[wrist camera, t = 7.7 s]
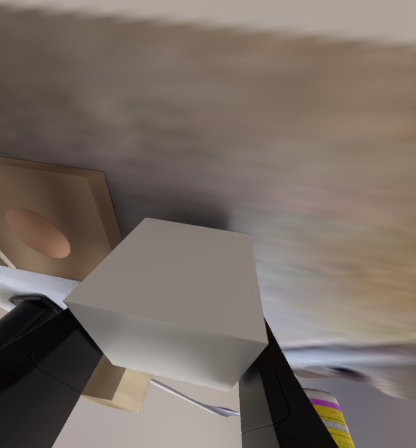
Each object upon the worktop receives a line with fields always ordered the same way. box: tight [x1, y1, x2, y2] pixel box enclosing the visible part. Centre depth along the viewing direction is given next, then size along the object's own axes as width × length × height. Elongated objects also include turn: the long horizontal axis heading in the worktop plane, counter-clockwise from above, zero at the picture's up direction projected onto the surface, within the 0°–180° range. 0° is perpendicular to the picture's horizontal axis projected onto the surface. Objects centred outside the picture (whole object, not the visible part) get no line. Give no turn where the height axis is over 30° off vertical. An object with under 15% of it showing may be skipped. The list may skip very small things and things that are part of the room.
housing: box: [63, 217, 268, 392], centre depth 8 cm, size 6×6×5 cm
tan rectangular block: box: [80, 354, 152, 413], centre depth 14 cm, size 4×4×7 cm
